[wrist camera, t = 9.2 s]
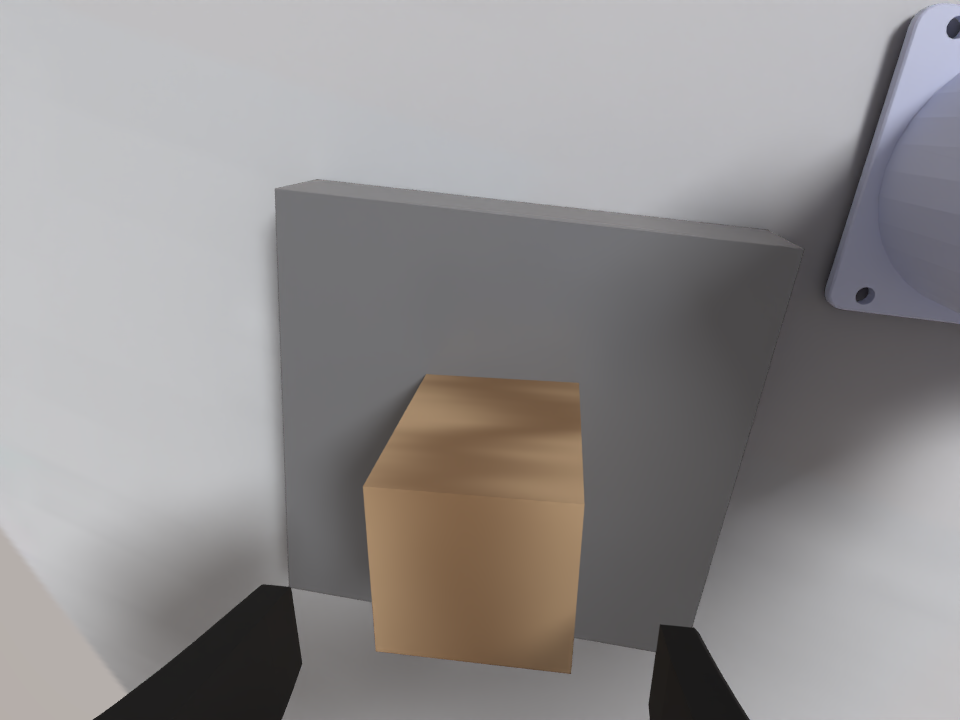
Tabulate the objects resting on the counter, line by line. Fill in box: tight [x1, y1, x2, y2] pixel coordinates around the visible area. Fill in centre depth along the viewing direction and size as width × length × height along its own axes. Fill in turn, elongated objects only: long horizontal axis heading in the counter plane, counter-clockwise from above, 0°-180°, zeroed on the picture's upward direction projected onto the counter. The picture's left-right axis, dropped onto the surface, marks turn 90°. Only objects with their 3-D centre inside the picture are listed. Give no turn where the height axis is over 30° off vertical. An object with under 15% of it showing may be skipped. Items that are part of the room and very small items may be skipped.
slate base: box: [275, 179, 804, 652], centre depth 20 cm, size 14×14×3 cm
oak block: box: [363, 374, 585, 674], centre depth 16 cm, size 4×4×6 cm
